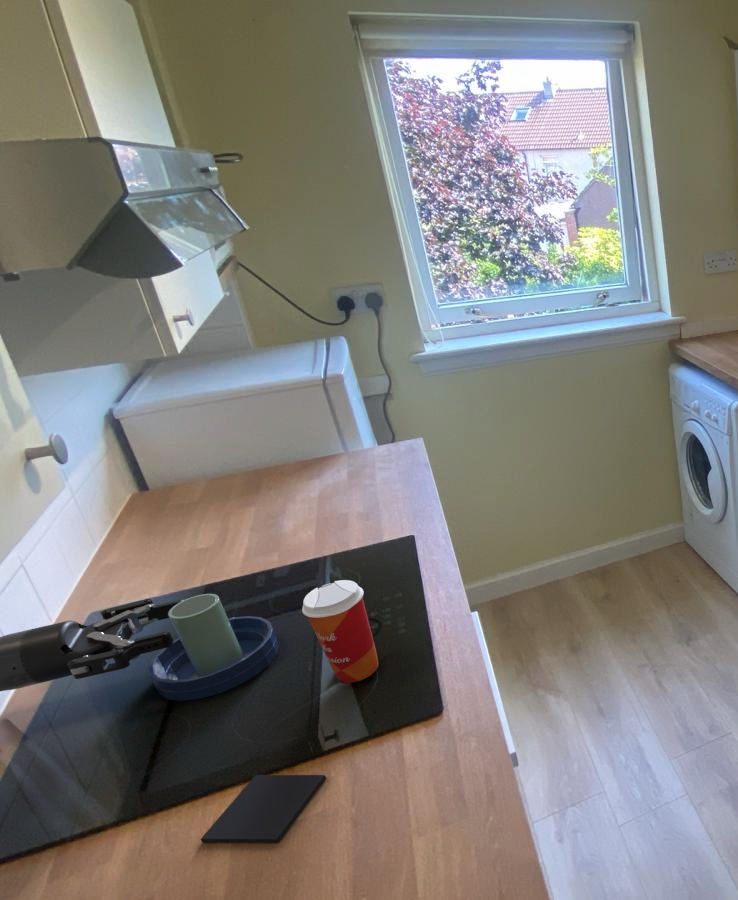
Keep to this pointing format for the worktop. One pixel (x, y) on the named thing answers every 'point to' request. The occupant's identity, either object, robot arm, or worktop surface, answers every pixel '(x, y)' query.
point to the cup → (205, 633)
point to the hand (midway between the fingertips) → (179, 621)
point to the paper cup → (342, 629)
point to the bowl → (183, 684)
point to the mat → (264, 809)
